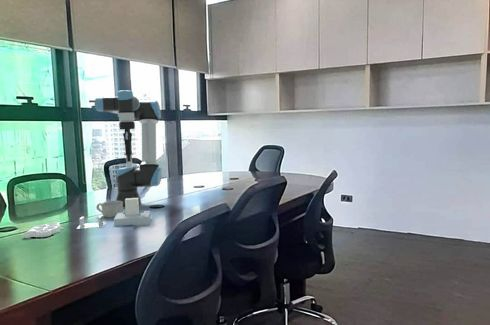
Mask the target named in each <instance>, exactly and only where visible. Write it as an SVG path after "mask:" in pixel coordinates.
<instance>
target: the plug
mask: <svg viewBox="0 0 490 325" xmlns="http://www.w3.org/2000/svg"><path fill="white" fill-rule="evenodd" d="M139 206H140V204H139V201H138V198H126V199H125V206H124V207H125V212H126V216H139V211H140V207H139Z"/></svg>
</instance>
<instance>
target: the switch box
mask: <svg viewBox="0 0 490 325" xmlns="http://www.w3.org/2000/svg"><path fill="white" fill-rule="evenodd" d="M150 222H151V210H142V211H140V210H139V216H126V211H125V212H123V213H117V215H116V216H115V217H113V226H114V227H117V226H118V227H120V226H130V225H133V227H137V226H138V227H139V226H149V225H150Z"/></svg>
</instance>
